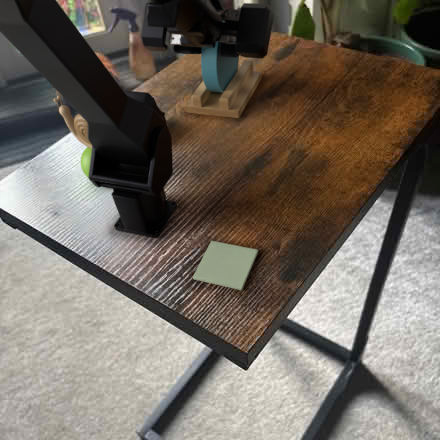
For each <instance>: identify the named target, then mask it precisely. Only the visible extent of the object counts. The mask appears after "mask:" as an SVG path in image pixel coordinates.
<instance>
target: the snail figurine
mask: <svg viewBox="0 0 440 440" xmlns="http://www.w3.org/2000/svg"><path fill="white" fill-rule="evenodd" d="M61 100H62V95H61V94H58V95H57V96H56V97H54V98H53V102H54V103H55V104H56V105H57V107H58V112H59V114H60V115H61V116H62V118H63V119H64V122H65V124H66V126H67V127H68V129H69V130H70V133H71V134H72V135H73V136H74V137H75V139H76V140H77V141H78V142H80V143H81V144H82V145H84V146H85V147H86V148H85V149H84V150H83V152H82V153H81V156H80V167H81V170H82V172H83V174H84V175H85V176H86V178H87V179H89V168H90V160H91V152H92V144H91V143H90V142H89V140H88V138H87V132H88V123H87V122H86V120H85V119H84V118H83V117H82V116H81V115H80V114H79V113H77V114H76V115H75V116H74V117H73V115H72V114H71V113H72V112H71V110H70V109H71V108H70V107H69V106H67V105H65V104H63V103H62V101H61ZM58 102H60V104H61V105H60V106H59V104H58Z"/></svg>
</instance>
